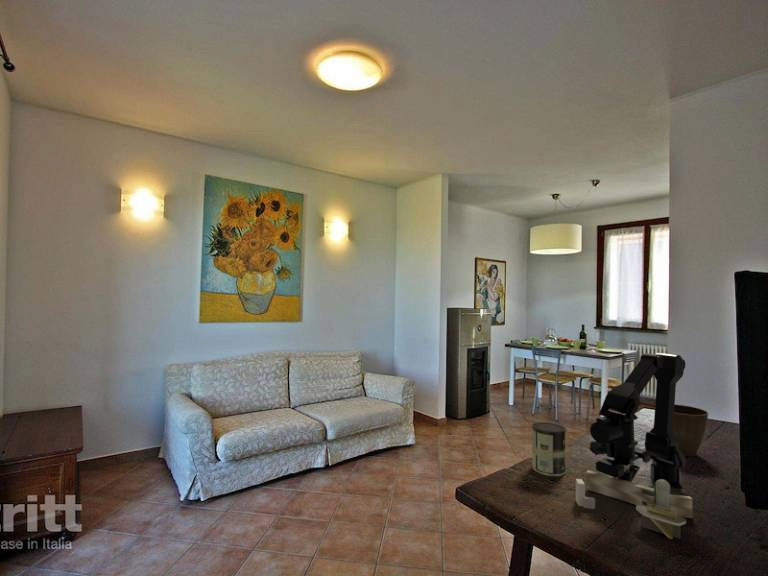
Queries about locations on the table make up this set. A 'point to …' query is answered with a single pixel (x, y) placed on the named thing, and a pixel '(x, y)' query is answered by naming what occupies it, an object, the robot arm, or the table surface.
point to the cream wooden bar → (620, 489)
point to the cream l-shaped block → (583, 496)
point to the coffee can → (549, 449)
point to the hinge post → (662, 494)
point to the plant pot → (689, 428)
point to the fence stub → (681, 505)
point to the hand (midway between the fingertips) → (624, 490)
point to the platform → (661, 521)
